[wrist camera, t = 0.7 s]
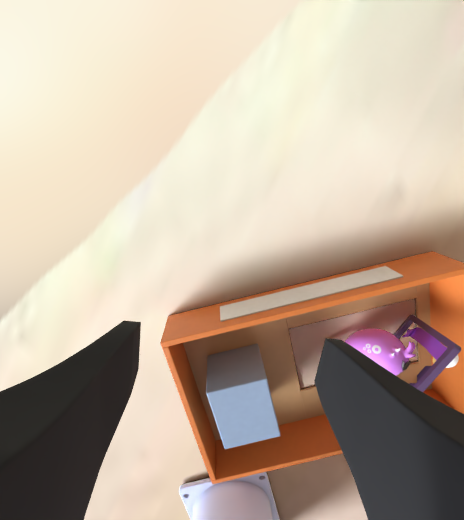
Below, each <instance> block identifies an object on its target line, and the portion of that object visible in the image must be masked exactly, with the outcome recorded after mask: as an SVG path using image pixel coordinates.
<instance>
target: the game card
mask: <svg viewBox="0 0 464 520" xmlns="http://www.w3.org/2000/svg"><path fill="white" fill-rule="evenodd" d="M413 322H414V323H415V324H417V325H418V326H419V327H416V328H414V329H408V328H409V327H410V325H411V324H412V323H413ZM420 327H421V328H420ZM407 329H408V330H407ZM406 330H407V333H406V334H405V335H403V334H404V332H405V331H406ZM402 335H403V336H402ZM401 336H402V337H408V336H411V337H412V338H413V339H415V340H416V341H417V342H419V343H420V344H421V345H422V346H423V347H425V348H426V349H427V351H428V352H429V353H430V354H431V355H432V356H433V365H432V366H425V367H424V368H423V369H422V370H421V372H420V373H419V374H418V375H417V383H410V385H412V386H413V387H415V388H416V389H418V390H420V391H422V392H424V391H425V390H426V389H427V387H428V386H429V385H430V384H431V383H432V382H433V381H434V380H435V379H436V378H437V377H438V375H439V374H440V373H441V372H442V371H443V370H444V369H445V368H450V367H453V366H455V365H456V364H457V363H458V360H459V357H458V354H459V353H460V351H461V347H460V346H458V345H457V344H455V343H454V342H453V341H451V340H450V339H448V338H447V337H445V336H444V335H442V334H441V333H439V332H438V331H436V330H435V329H433V328H432V327H430V326H429V325H428V324H426V323H425V322H423V321H422V320H420V319H419V318H417V317H416V316H414V315H410V316H409V317H408V319H407V320H406V321H405V322H404V323H403V324H402V326H401V327H400V328H399V329H398V330H397V332H396V333H395V334H394V335H393V334H391V333H390V332H388V331H385V330H382V329H374V328H370V329H363V330H359V331H357V332H355V333H353V334H351V335H350V336H349V337H348V338H347V340H346V341H345V342H346V343H347V344H349V345H351V346H352V347H354V348H355V349H357V350H358V351H360V352H361V353H363V354H364V355H366V356H367V357H369V358H370V359H372V360H373V361H375V362H376V363H377V364H379V365H380V366H382V367H383V368H385V369H386V370H388V371H389V372H391V373H393V374H394V375H398V374H400V373H401V372H403V371H404V370H406V369H407V368H408V366H409V364H410V362H411V361H409V358H411V357H415V356H416V354H412V352H413V351H414V349H415V344H414V342H412V343H411V342H409V345H408V347H407V348H405V346H404V345H403V343H402V342H401V341H400V340H399V338H400V337H401ZM439 341H440V342H441V343H442V344H441V343H440V342H439ZM443 344H444V345H443Z"/></svg>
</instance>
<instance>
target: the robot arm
mask: <svg viewBox="0 0 464 520" xmlns="http://www.w3.org/2000/svg"><path fill="white" fill-rule="evenodd" d="M140 326H141V322H131V321H123V322H121V323H120V324H119V325H117V326H116V327H114V328H113V329H112V330H110V331H109V332H107V333H106V334H105V335H103V336H102V337H100V338H99V339H97V340H96V341H95V342H93V343H92V344H90V345H89V346H87V347H86V348H84V349H82V350H81V351H79V352H78V353H76V354H74V355H73V356H71V357H69V358H68V359H66V360H65V361H63V362H61V363H59V364H58V365H56V366H54V367H52V368H50V369H48V370H46V371H45V372H43V373H41V374H39V375H37V376H35V377H33V378H31V379H28V380H26V381H24V382H22V383H20V384H17V385H15V386H13V387H10V388H8V389H6V390H3V391H1V392H0V520H84V516H85V513H86V510H87V507H88V504H89V501H90V498H91V494H92V491H93V488H94V485H95V482H96V479H97V476H98V473H99V470H100V467H101V465H102V462H103V459H104V457H105V454H106V452H107V449H108V447H109V445H110V442H111V440H112V438H113V435H114V433H115V431H116V428H117V426H118V424H119V421H120V419H121V417H122V414H123V412H124V410H125V407H126V405H127V403H128V400H129V398H130V395H131V392H132V389H133V386H134V382H135V379H136V375H137V372H138V366H139V346H140ZM315 385H316V389H317V392H318V396H319V399H320V402H321V405H322V407H323V410H324V412H325V414H326V417H327V419H328V421H329V423H330V426H331V428H332V430H333V432H334V434H335V437H336V439H337V441H338V443H339V445H340V447H341V450H342V452H343V454H344V456H345V458H346V461H347V463H348V465H349V467H350V470H351V472H352V475H353V477H354V480H355V482H356V485H357V488H358V491H359V494H360V497H361V500H362V502H363V505H364V508H365V511H366V514H367V517H368V520H464V414H463V413H461V412H459V411H457V410H455V409H453V408H451V407H449V406H447V405H445V404H443V403H441V402H440V401H438V400H436V399H434V398H432V397H430V396H428V395H427V394H425V393H423V392H422V391H420V390H418V389H416V388H415V387H413V386H412V385H410V384H408V383H407V382H405V381H403V380H402V379H400V378H399V377H397V376H396V375H394V374H393V373H391V372H389V371H388V370H386V369H385V368H383V367H382V366H380V365H379V364H377V363H376V362H375V361H373V360H372V359H370V358H369V357H367V356H366V355H364V354H363V353H361V352H360V351H358V350H357V349H355V348H354V347H352V346H351V345H349V344H347V343H346V342H344V341H342V340H338V339H325V343H324V347H323V351H322V355H321V358H320V362H319V366H318V370H317V374H316V377H315ZM179 493H180V495H181V498H182V500H183V503H184V505H185V507H186V510H187V512H188V514H189V517H190V519H191V520H280V518H279V515H278V511H277V508H276V504H275V500H274V497H273V493H272V490H271V486H270V483H269V479H268V475H267V472H263V473H258V474H254V475H250V476H246V477H242V478H237V479H233V480H229V481H225V482H221V483H217V484H212V482H211V480H210V478H207V479H203V480H198V481H194V482H190V483H186V484H182V485H181V486H180V488H179Z"/></svg>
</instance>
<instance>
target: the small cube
mask: <svg viewBox="0 0 464 520" xmlns="http://www.w3.org/2000/svg"><path fill="white" fill-rule="evenodd" d="M206 394H207V397H208V400H209V403H210V406H211V409H212V412H213V415H214V418H215V421H216V424H217V427H218V430H219V433H220V436H221V439H222V442H223V445H224V448H225V449H229V448H233V447H237V446H241V445H245V444H249V443H254V442H258V441H262V440H266V439H270V438H274V437H279V436H280V430H279V426H278V422H277V418H276V414H275V410H274V405H273V401H272V397H271V393H270V389H269V385H268V381H267V377H266V373H265V369H264V365H263V361H262V358H261V354H260V350H259V346H258V344H257V343H256V344H252V345H248V346H244V347H240V348H236V349H232V350H228V351H224V352H220V353H215V354H211V355H208V356H207V387H206Z"/></svg>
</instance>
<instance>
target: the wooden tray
mask: <svg viewBox="0 0 464 520" xmlns="http://www.w3.org/2000/svg"><path fill="white" fill-rule="evenodd" d="M414 298H415V301H416V317H417V318H419V319H420V320H422V321H423V322H425V323H426V324H428V325H429V326H430V327H432V328H433V329H435V330H436V331H438V332H439V333H441V334H442V335H444V336H445V337H447V338H448V339H450V340H451V341H453V342H454V343H455V344H457V345H458V346H460V347H461V351H460V353H459V354H458V357H459V360H458V363H457V364H456V365H455V366H453V367H450V368H445V369H444V370H443V371H442V372H441V373H440V374H439V375H438V377H437V378H436V379H435V380H434V381H433V382H432V383H431V384H430V385H429V386H428V387H427V389H426V390H425V391H424V392H423V393H425V394H427V395H428V396H430V397H432V398H434V399H436V400H438V401H440V402H441V403H443V404H445V405H447V406H449V407H451V408H453V409H455V410H457V411H459V412H461V413H463V414H464V263H462V262H460V261H457V260H454V259H452V258H449V257H446V256H444V255H441V254H438V253H436V252H433V251H431V252H427V253H423V254H419V255H414V256H410V257H406V258H402V259H398V260H394V261H390V262H386V263H382V264H378V265H374V266H370V267H366V268H362V269H357V270H353V271H349V272H345V273H341V274H337V275H333V276H329V277H325V278H321V279H317V280H313V281H309V282H305V283H300V284H296V285H292V286H288V287H284V288H280V289H276V290H272V291H268V292H264V293H260V294H256V295H252V296H247V297H243V298H239V299H235V300H231V301H227V302H223V303H219V304H215V305H211V306H207V307H203V308H199V309H195V310H190V311H186V312H182V313H178V314H174V315H170V316H168V319H167V323H166V326H165V329H164V333H163V336H162V339H161V346H162V349H163V352H164V354H165V357H166V360H167V362H168V365H169V368H170V371H171V373H172V376H173V379H174V381H175V384H176V387H177V390H178V392H179V395H180V398H181V401H182V403H183V406H184V409H185V411H186V414H187V417H188V420H189V422H190V425H191V428H192V431H193V433H194V436H195V439H196V441H197V444H198V447H199V450H200V452H201V455H202V458H203V460H204V463H205V466H206V469H207V471H208V474H209V477H210V480H211V482H212V484H217V483H221V482H225V481H229V480H233V479H237V478H242V477H246V476H250V475H254V474H258V473H263V472H267V471H271V470H275V469H279V468H284V467H288V466H292V465H296V464H300V463H304V462H309V461H313V460H317V459H321V458H325V457H330V456H334V455H338V454H342V453H343V452H342V450H341V447H340V445H339V443H338V441H337V439H336V437H335V434H334V432H333V430H332V428H331V426H330V423H329V421H328V419H327V417H326V414H325V412H324V410H323V407H322V405H321V402H320V399H319V396H318V392H317V389H316V386H313V387H309V388H305V389H301V390H300V385H299V380H298V375H297V370H296V365H295V360H294V355H293V350H292V345H291V341H290V336H289V331H288V329H291V328H295V327H299V326H303V325H308V324H312V323H316V322H320V321H324V320H328V319H332V318H336V317H340V316H344V315H349V314H353V313H357V312H361V311H365V310H369V309H373V308H377V307H381V306H385V305H390V304H394V303H398V302H402V301H406V300H410V299H414ZM417 327H419V326H418V325H417ZM420 328H421V327H420ZM439 342H440V341H439ZM256 343H257V344H258V346H259V350H260V354H261V358H262V361H263V365H264V369H265V373H266V377H267V381H268V385H269V389H270V393H271V397H272V401H273V405H274V410H275V414H276V418H277V422H278V426H279V430H280V436H279V437H274V438H270V439H266V440H262V441H258V442H254V443H249V444H245V445H241V446H237V447H233V448H229V449H225V448H224V445H223V442H222V439H221V436H220V433H219V430H218V427H217V424H216V421H215V418H214V415H213V412H212V409H211V406H210V403H209V400H208V397H207V394H206V387H207V356H208V355H211V354H215V353H220V352H224V351H228V350H232V349H236V348H240V347H244V346H248V345H252V344H256ZM440 343H441V342H440ZM441 344H442V343H441ZM443 345H444V344H443ZM417 347H418V361H417V362H413V363H410V364H409V366H408V368H407V369H406V370H404V371H403V372H401V373H400V374H398V375H396V376H397V377H399V378H400V379H402V380H403V381H405V382H407V383H408V384H410V383H417V375H418V374H419V373H420V372H421V370H422V369H423V368H424V367H425V366H432V365H433V356H432V355H431V354H430V353H429V352H428V351H427V349H426V348H425V347H423V346H422V345H421V344H420V343H419V342H417Z"/></svg>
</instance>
